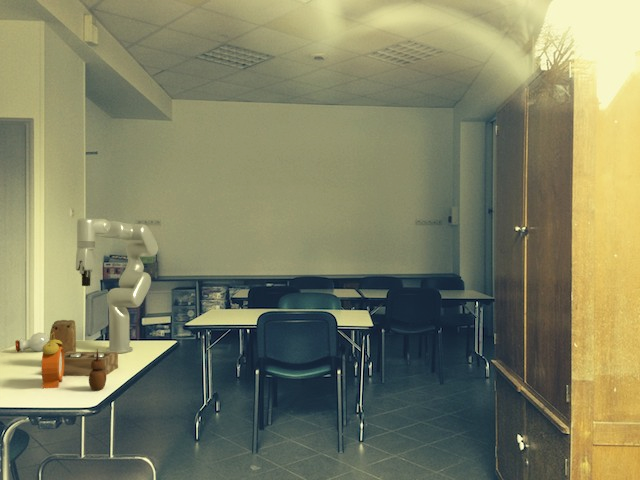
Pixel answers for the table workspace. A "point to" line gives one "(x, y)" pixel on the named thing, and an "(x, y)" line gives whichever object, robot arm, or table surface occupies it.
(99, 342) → the table surface
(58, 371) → the alarm clock
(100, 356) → the peg
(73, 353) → the peg
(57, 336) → the block
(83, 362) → the socket block
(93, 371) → the wooden figurine
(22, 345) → the potion bottle
